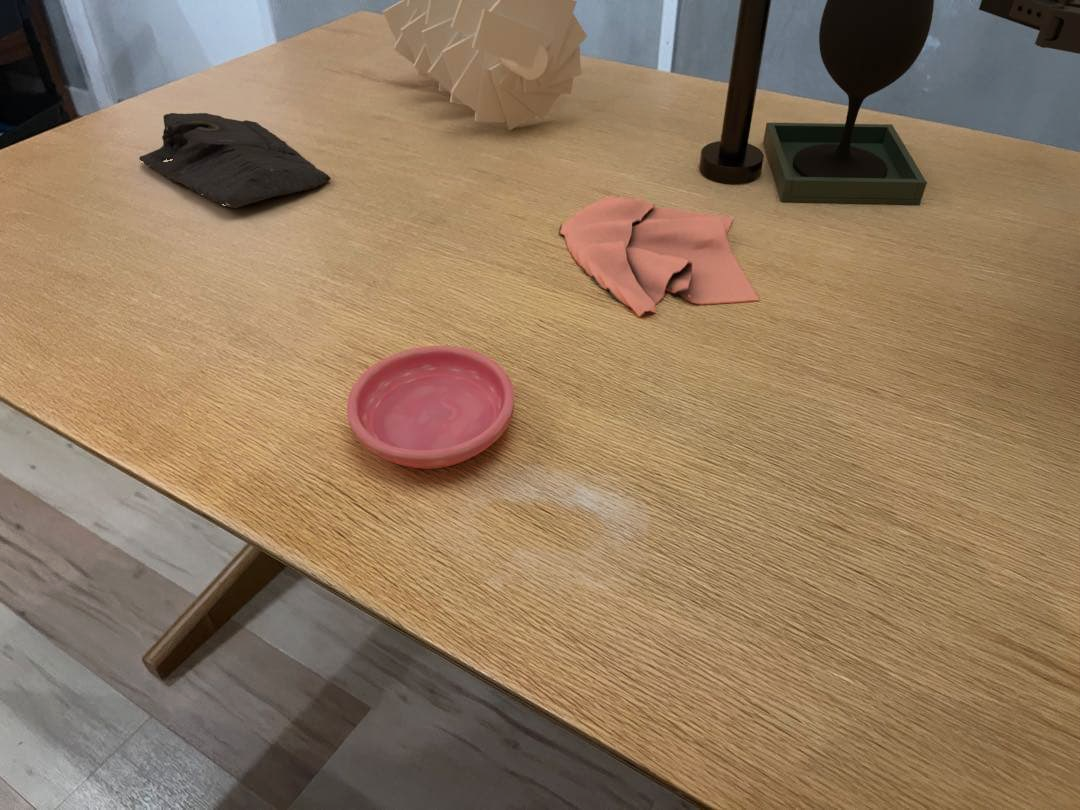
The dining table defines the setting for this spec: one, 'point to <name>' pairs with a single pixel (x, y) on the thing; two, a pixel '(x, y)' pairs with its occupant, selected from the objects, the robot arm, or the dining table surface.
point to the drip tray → (893, 189)
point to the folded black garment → (230, 160)
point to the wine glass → (864, 71)
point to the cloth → (656, 253)
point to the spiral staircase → (492, 52)
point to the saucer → (431, 406)
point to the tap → (740, 103)
